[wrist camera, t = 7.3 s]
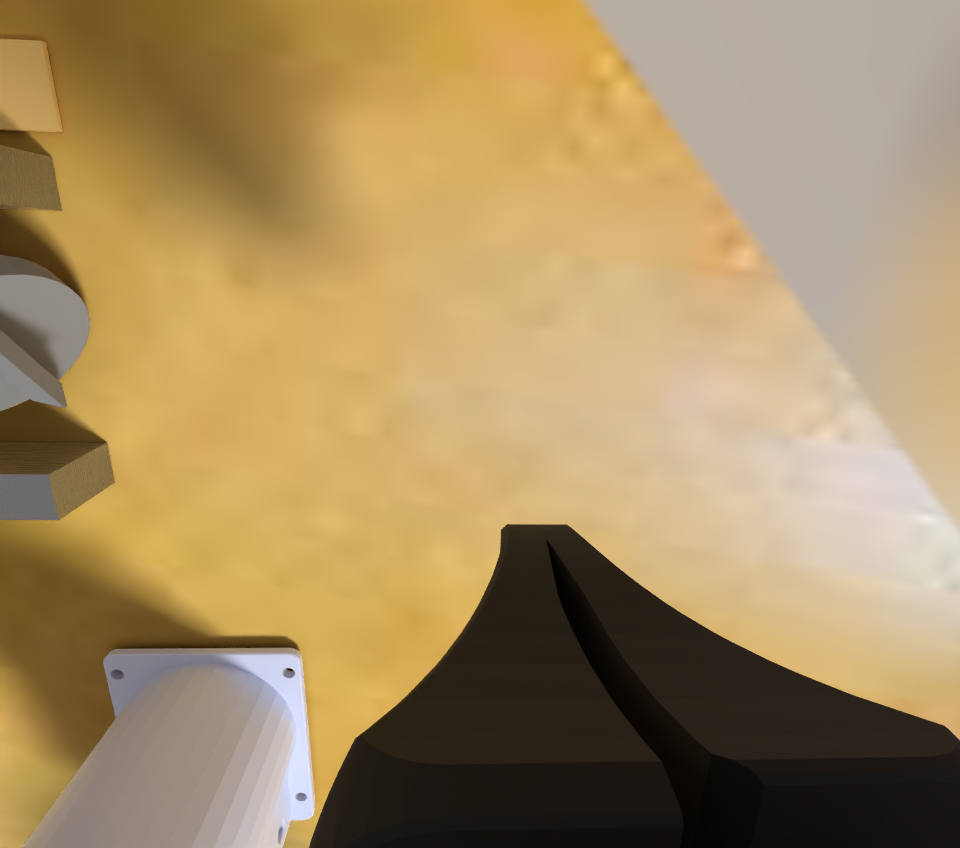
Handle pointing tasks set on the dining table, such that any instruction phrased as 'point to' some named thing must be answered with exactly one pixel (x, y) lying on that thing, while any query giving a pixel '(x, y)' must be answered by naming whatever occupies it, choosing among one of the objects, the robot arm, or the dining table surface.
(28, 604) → the dining table surface
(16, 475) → the bracket
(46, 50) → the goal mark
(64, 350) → the grooved yellow cone
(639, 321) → the dining table surface
